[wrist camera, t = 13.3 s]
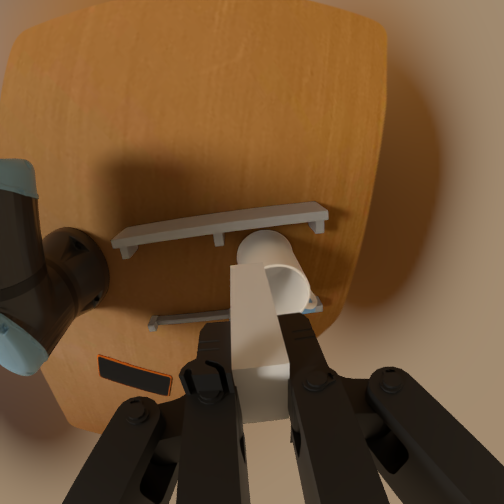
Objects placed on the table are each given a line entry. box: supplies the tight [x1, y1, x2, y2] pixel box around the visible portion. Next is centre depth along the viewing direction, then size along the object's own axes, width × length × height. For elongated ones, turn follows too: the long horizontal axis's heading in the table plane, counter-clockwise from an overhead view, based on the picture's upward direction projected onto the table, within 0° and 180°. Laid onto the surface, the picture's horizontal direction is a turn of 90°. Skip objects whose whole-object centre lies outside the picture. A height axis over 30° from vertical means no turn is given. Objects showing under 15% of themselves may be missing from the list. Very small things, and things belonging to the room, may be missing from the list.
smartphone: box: [97, 354, 172, 396], centre depth 50 cm, size 8×17×1 cm, turn 73°
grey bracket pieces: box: [111, 201, 329, 332], centre depth 39 cm, size 29×17×6 cm, turn 96°
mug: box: [237, 230, 317, 315], centre depth 37 cm, size 12×8×12 cm
